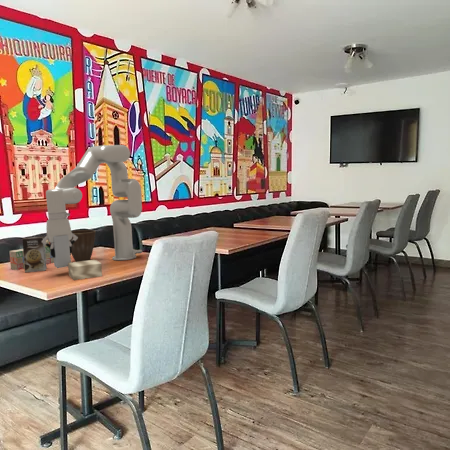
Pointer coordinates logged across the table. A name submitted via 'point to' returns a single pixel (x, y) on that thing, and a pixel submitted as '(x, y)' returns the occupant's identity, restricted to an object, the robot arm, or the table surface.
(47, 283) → the table surface
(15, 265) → the stack of blocks
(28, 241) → the coffee box
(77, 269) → the beige metal block
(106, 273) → the table surface
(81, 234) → the plant pot
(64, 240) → the grey block
